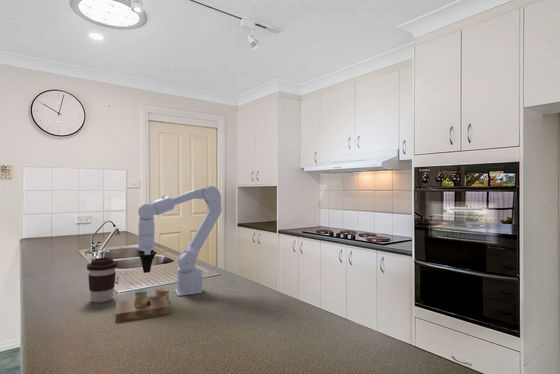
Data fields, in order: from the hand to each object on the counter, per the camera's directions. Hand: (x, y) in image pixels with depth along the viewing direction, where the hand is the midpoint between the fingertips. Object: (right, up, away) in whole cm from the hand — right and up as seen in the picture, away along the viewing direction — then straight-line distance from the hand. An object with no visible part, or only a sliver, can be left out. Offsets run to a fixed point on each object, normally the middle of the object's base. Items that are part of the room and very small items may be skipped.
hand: (146, 270), depth 126 cm
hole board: (+6, -10, -16) cm, 20 cm away
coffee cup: (-14, -10, -5) cm, 18 cm away
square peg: (+5, -10, -16) cm, 20 cm away
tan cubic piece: (+8, -10, -6) cm, 14 cm away
